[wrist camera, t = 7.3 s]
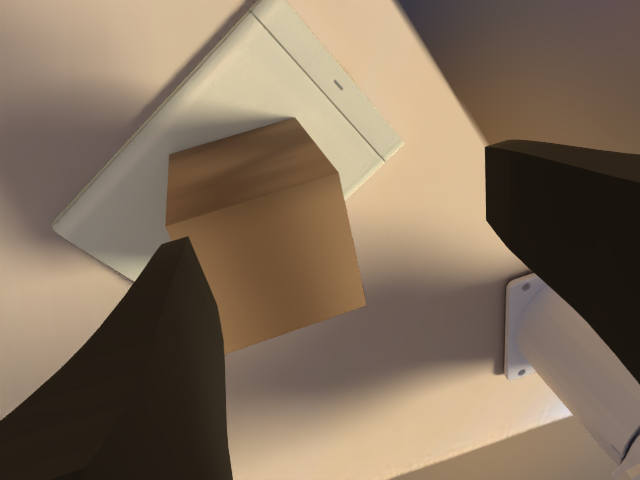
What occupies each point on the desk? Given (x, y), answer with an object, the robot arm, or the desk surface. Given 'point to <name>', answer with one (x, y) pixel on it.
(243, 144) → the walnut block
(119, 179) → the hard drive
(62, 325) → the desk surface
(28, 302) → the desk surface
